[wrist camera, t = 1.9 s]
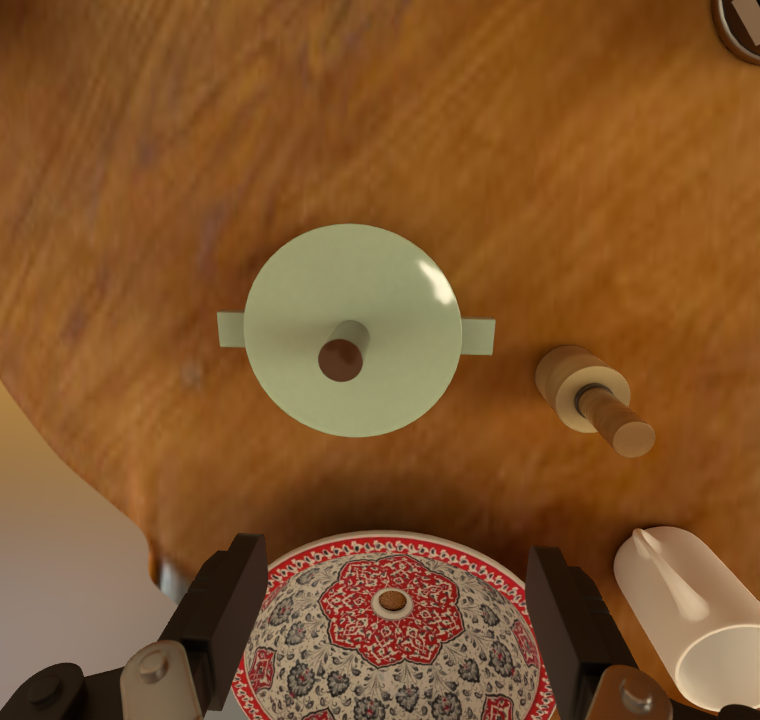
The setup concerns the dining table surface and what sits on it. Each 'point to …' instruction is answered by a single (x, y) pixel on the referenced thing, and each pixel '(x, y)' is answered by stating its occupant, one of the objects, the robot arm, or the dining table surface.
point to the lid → (352, 330)
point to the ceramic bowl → (392, 635)
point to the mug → (693, 615)
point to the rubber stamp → (592, 399)
